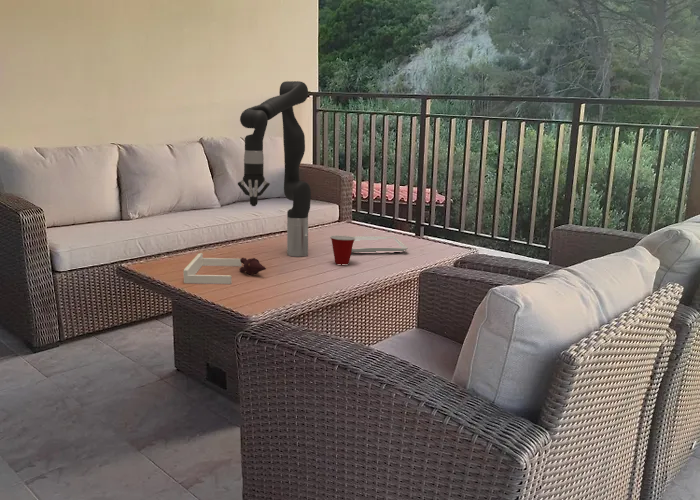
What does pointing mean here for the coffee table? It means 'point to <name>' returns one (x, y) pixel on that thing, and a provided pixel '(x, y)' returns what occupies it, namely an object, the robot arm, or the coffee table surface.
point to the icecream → (251, 266)
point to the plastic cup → (342, 248)
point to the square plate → (378, 248)
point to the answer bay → (200, 261)
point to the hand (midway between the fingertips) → (253, 205)
